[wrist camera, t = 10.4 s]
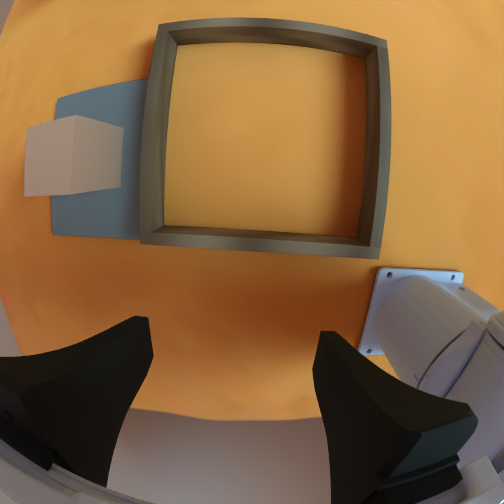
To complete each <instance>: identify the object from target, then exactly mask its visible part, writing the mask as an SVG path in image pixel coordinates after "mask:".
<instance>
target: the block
mask: <svg viewBox="0 0 504 504" xmlns="http://www.w3.org/2000/svg"><path fill="white" fill-rule="evenodd" d="M123 135H124V128H122V127H119V126H115V125H112V124H108V123H105V122H101V121H98V120H94V119H90V118H86V117H83V116H79V115H73V116H68V117H64V118H60V119H56V120H53V121H49V122H45V123H42V124H38V125H35V126H32V127H29V128H28V129H27V138H26V150H25V168H24V197H34V196H50V195H71V194H77V193H84V192H90V191H97V190H104V189H112V188H119V187H121V166H122V148H123Z"/></svg>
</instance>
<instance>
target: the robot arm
mask: <svg viewBox="0 0 504 504" xmlns="http://www.w3.org/2000/svg"><path fill="white" fill-rule="evenodd" d="M388 272H390V275H389V276H387V273H388ZM452 275H453V276H452ZM451 276H452V278H451ZM463 276H464V275H463V273H462V272H460V271H448V270H428V269H409V268H391V267H381V268H380V269H379V270H378V271H377V274H376V279H375V284H374V289H373V293H372V298H371V302H370V306H369V310H368V314H367V318H366V322H365V326H364V330H363V333H362V337H361V340H360V344H359V347H358V351H357V350H356V349H355V348H354V347H353V346H352V345H350V344H349V343H348V342H347V341H346V340H345V339H344V338H342V337H341V336H340V335H339V334H338V333H336V332H335V331H321V332H320V337H319V342H318V346H317V351H316V355H315V360H314V364H313V368H312V371H313V380H314V388H315V392H316V396H317V400H318V404H319V408H320V411H321V415H322V419H323V423H324V426H325V431H326V436H327V443H328V452H329V462H330V477H331V504H501V503H502V502H503V501H504V311H502V312H500V310H499V309H497V308H496V307H495V306H493V305H492V304H491V303H489V302H488V301H486V300H485V299H483V298H482V297H481V296H479V295H478V294H476V293H475V292H473V291H472V290H470V289H469V288H467V287H466V286H464V285H463V284H462V281H463ZM368 349H370V350H369V351H367V350H368ZM381 354H385V356H386V357H387V359H388V361H389V362H390V364H391V366H392V367H393V369H394V371H395V372H396V374H397V376H398V377H399V379H400V380H398V379H397V378H395V377H393V376H391V375H390V374H388V373H386V372H385V371H383V370H382V369H380V368H379V367H378V366H376V365H375V364H374V363H372V362H371V361H370V360H368V359H367V358H366V357H365V355H381ZM153 356H154V355H153V348H152V342H151V335H150V327H149V320H148V317H141V316H133V317H131V318H129V319H127V320H125V321H123V322H121V323H119V324H117V325H115V326H113V327H111V328H109V329H107V330H105V331H103V332H101V333H99V334H97V335H95V336H93V337H90V338H88V339H86V340H84V341H82V342H79V343H77V344H74V345H71V346H68V347H65V348H62V349H59V350H55V351H50V352H46V353H42V354H36V355H30V356H20V357H0V489H1V490H2V491H3V492H4V493H5V494H7V495H8V496H9V497H10V498H11V499H13V500H14V501H15V502H17V503H18V504H154V503H151V502H147V501H143V500H140V499H136V498H134V497H130V496H127V495H124V494H121V493H119V492H116V491H113V490H110V489H108V488H106V486H107V480H108V475H109V469H110V464H111V460H112V456H113V452H114V449H115V445H116V441H117V438H118V435H119V432H120V429H121V426H122V424H123V421H124V418H125V416H126V413H127V411H128V409H129V407H130V406H131V404H132V402H133V400H134V398H135V396H136V394H137V392H138V390H139V389H140V387H141V385H142V383H143V381H144V379H145V377H146V375H147V373H148V370H149V368H150V365H151V362H152V359H153Z"/></svg>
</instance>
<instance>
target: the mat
mask: <svg viewBox="0 0 504 504" xmlns="http://www.w3.org/2000/svg"><path fill="white" fill-rule="evenodd" d="M148 80H149V78H147V79H141V80H134V81H128V82H123V83H117V84H112V85H108V86H103V87H99V88H94V89H90V90H86V91H82V92H79V93H75V94H71V95H68V96H65V97H61V98H58V101H57V107H56V114H55V120H56V119H60V118H64V117H68V116H73V115H79V116H83V117H86V118H90V119H94V120H98V121H101V122H105V123H108V124H112V125H115V126H119V127H122V128H124V135H123V148H122V166H121V187H119V188H112V189H104V190H97V191H90V192H84V193H77V194H71V195H51V212H52V227H53V235H66V236H85V237H103V238H121V239H138V240H140V165H141V146H142V132H143V121H144V111H145V102H146V94H147V87H148Z"/></svg>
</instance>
